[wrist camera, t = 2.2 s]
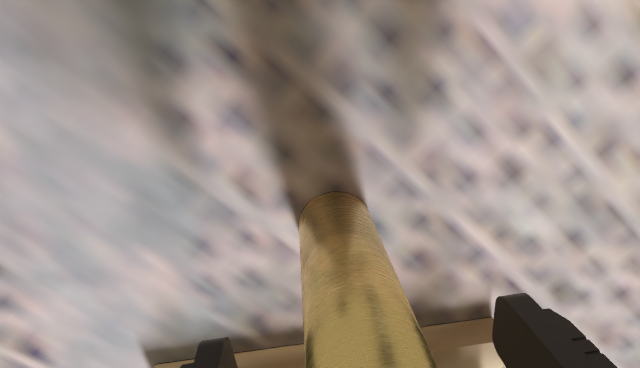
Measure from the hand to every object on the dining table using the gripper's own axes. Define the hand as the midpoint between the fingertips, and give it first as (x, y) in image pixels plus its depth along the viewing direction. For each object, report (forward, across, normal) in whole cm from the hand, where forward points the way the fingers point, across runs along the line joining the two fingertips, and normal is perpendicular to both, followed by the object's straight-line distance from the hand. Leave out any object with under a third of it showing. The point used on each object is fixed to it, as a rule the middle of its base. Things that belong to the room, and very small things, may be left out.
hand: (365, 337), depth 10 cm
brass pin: (+6, 0, -1) cm, 6 cm away
